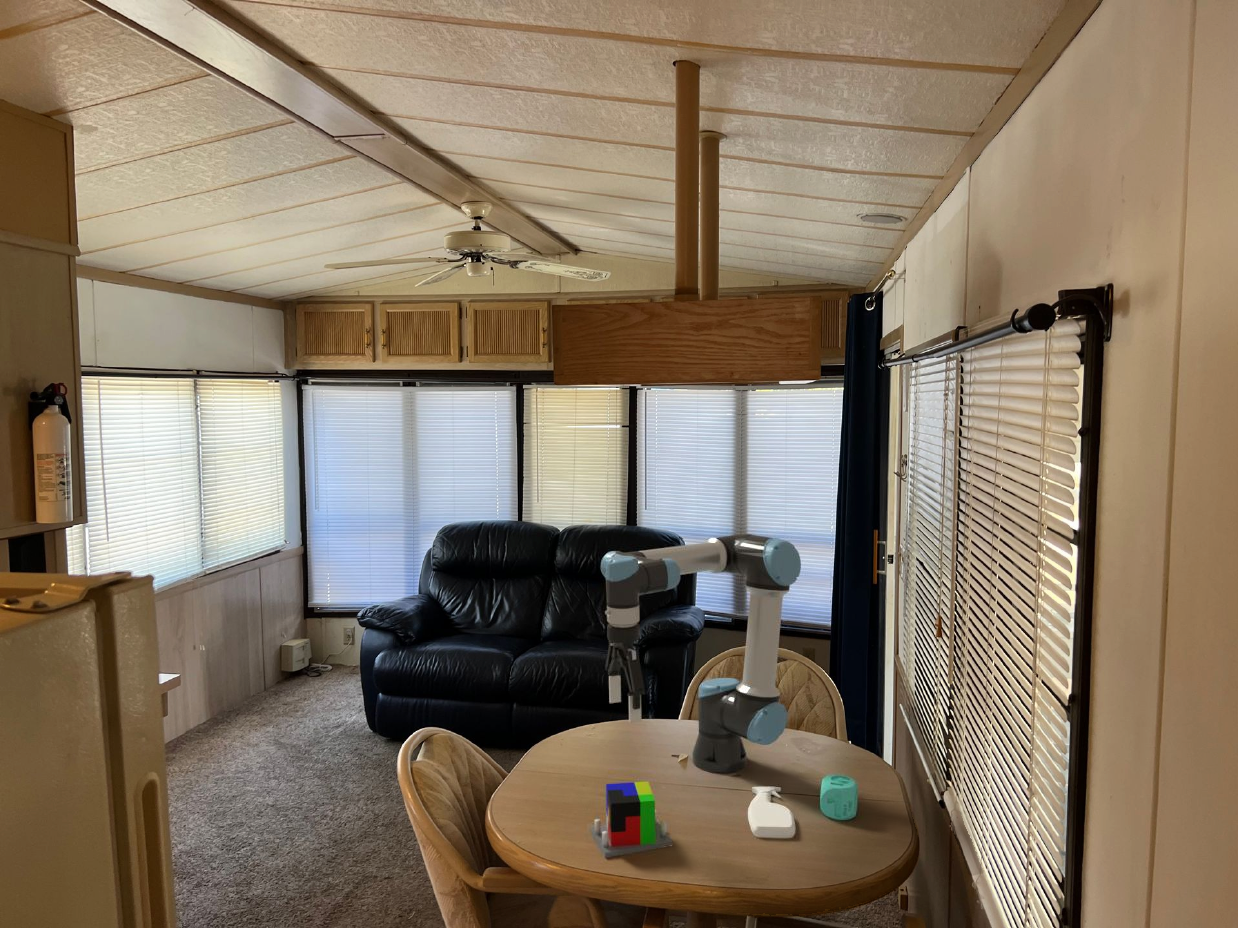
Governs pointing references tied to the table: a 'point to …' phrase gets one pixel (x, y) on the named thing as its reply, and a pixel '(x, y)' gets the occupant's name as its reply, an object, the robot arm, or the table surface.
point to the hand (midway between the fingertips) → (624, 711)
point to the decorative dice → (839, 797)
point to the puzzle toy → (630, 814)
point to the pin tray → (604, 845)
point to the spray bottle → (769, 815)
